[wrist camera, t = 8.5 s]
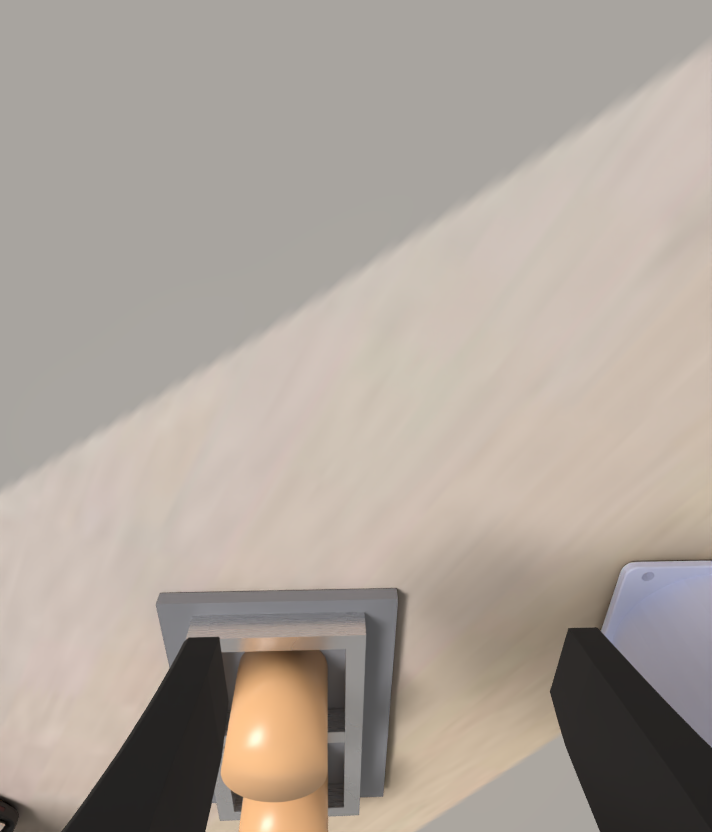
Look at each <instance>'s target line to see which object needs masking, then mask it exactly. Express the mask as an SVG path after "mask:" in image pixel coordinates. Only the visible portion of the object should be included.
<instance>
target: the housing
mask: <svg viewBox="0 0 712 832" xmlns="http://www.w3.org/2000/svg"><path fill="white" fill-rule="evenodd" d="M397 607H398V595H397V588H390V589H340V590H291V591H242V592H192V593H160V594H159V597H158V599H157V602H156V608H157V612H158V617H159V621H160V626H161V631H162V635H163V640H164V644H165V649H166V654H167V658H168V663H169V667H171V665H172V663H173V661H174V660H175V658H176V656H177V654H178V652H179V650H180V648H181V646H182V644H183V642H184V641H185V640H186V639H188V638H189V637H219V638H220V645H221V652H222V659H223V665H224V672H225V679H226V686H227V693H228V700H229V703H228V712H227V720H226V728H225V736H224V744H223V751H222V758H221V763H220V767H219V772H218V777H217V781H216V786H215V790H214V795H213V799H212V803H217V808H218V813H219V818H220V821H227V820H240V825H239V832H328V816H351V815H359V805H360V797H382V796H383V792H384V779H385V766H386V753H387V739H388V726H389V713H390V700H391V686H392V673H393V660H394V647H395V633H396V620H397ZM292 650H320V651H321V652H322V653H323V655H324V656H325V658H326V660H327V664H328V773H327V777H326V780H325V782H324V783H323V785H322V786H321V787H320V788H319V789H317V790H316V791H315V792H313V793H312V794H310V795H308V796H305V797H303V798H300V799H296V800H292V801H287V802H261V801H255V800H251V799H248V798H245V797H242V796H240V795H238V794H236V793H234V792H233V791H232V790H230V789H229V788H228V787H227V786H226V785H225V783H224V782H223V780H222V777H221V766H222V761H223V755H224V749H225V743H226V737H227V731H228V725H229V719H230V713H231V707H232V701H233V696H234V690H235V684H236V678H237V672H238V666H239V661H240V659H241V657H242V655H243V654H244V653H245V652H253V651H292Z"/></svg>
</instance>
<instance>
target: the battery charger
mask: <svg viewBox="0 0 712 832" xmlns="http://www.w3.org/2000/svg"><path fill="white" fill-rule="evenodd" d="M18 818H19V815H18V812H17V811H16V809H15V808H13V807H12V806H10V805H8V804H6V803H4V802H2V801H0V832H13V831H14V829H15V826H16V825H17V822H18Z"/></svg>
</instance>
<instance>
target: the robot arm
mask: <svg viewBox="0 0 712 832" xmlns="http://www.w3.org/2000/svg"><path fill="white" fill-rule="evenodd" d="M646 572H647V573H646ZM550 693H551V697H552V701H553V704H554V708H555V712H556V715H557V719H558V723H559V726H560V729H561V733H562V736H563V739H564V743H565V746H566V748H567V751H568V753H569V756H570V759H571V761H572V763H573V766H574V769H575V771H576V773H577V776H578V778H579V781H580V784H581V786H582V788H583V791H584V793H585V796H586V798H587V800H588V803H589V805H590V808H591V811H592V813H593V815H594V818H595V820H596V823H597V825H598V828H599V830H600V832H712V561H658V562H631V563H628V564H626V565H625V566H624V567H623V568H622V570H621V572H620V575H619V578H618V581H617V584H616V587H615V590H614V593H613V596H612V599H611V602H610V605H609V608H608V611H607V614H606V617H605V620H604V623H603V626H602V629H601V631H600V630H599V629H598V628H568V632H567V635H566V639H565V642H564V645H563V649H562V652H561V656H560V659H559V663H558V666H557V669H556V673H555V676H554V680H553V683H552V687H551V690H550ZM228 703H229V700H228V693H227V686H226V679H225V672H224V665H223V659H222V652H221V645H220V638H219V637H189V638H188V639H186V640H185V641H184V642H183V644H182V646H181V648H180V650H179V652H178V654H177V656H176V658H175V660H174V661H173V663H172V665H171V667H170V669H169V671H168V672H167V674H166V676H165V678H164V679H163V681H162V683H161V685H160V686H159V688H158V690H157V691H156V693H155V695H154V696H153V698H152V700H151V701H150V703H149V705H148V706H147V708H146V710H145V711H144V713H143V714H142V716H141V718H140V719H139V721H138V722H137V724H136V725H135V727H134V729H133V730H132V732H131V733H130V735H129V736H128V738H127V740H126V741H125V743H124V744H123V746H122V747H121V749H120V750H119V752H118V753H117V755H116V756H115V758H114V759H113V761H112V762H111V764H110V765H109V766H108V768H107V769H106V771H105V772H104V774H103V775H102V776H101V778H100V779H99V781H98V782H97V784H96V785H95V786H94V788H93V789H92V791H91V792H90V794H89V795H88V797H87V798H86V799H85V801H84V802H83V804H82V805H81V806H80V808H79V809H78V810H77V812H76V813H75V814H74V816H73V817H72V818H71V820H70V821H69V822H68V824H67V825H66V826H65V828H64V829H63V830H62V832H205V830H206V826H207V821H208V817H209V813H210V808H211V804H212V799H213V795H214V790H215V786H216V781H217V777H218V772H219V767H220V763H221V758H222V751H223V744H224V736H225V728H226V720H227V712H228Z"/></svg>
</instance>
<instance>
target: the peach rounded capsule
mask: <svg viewBox="0 0 712 832" xmlns="http://www.w3.org/2000/svg"><path fill="white" fill-rule="evenodd" d="M327 773H328V664H327V660H326V658H325V656H324V655H323V653H322V652H321V651H320V650H292V651H253V652H245V653H244V654H243V655H242V657H241V659H240V661H239V666H238V672H237V678H236V684H235V690H234V696H233V701H232V707H231V713H230V719H229V725H228V731H227V737H226V743H225V749H224V755H223V761H222V766H221V777H222V780H223V782H224V783H225V785H226V786H227V787H228V788H229V789H230V790H232V791H233V792H234V793H236V794H238V795H240V796H242V797H245V798H248V799H251V800H255V801H261V802H287V801H292V800H296V799H300V798H303V797H305V796H308V795H310V794H312V793H313V792H315V791H316V790H317V789H319V788H320V787H321V786H322V785H323V783H324V782H325V780H326V777H327Z"/></svg>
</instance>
